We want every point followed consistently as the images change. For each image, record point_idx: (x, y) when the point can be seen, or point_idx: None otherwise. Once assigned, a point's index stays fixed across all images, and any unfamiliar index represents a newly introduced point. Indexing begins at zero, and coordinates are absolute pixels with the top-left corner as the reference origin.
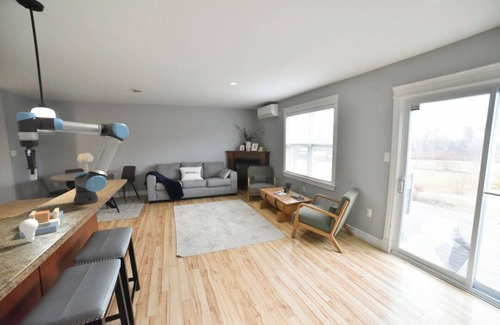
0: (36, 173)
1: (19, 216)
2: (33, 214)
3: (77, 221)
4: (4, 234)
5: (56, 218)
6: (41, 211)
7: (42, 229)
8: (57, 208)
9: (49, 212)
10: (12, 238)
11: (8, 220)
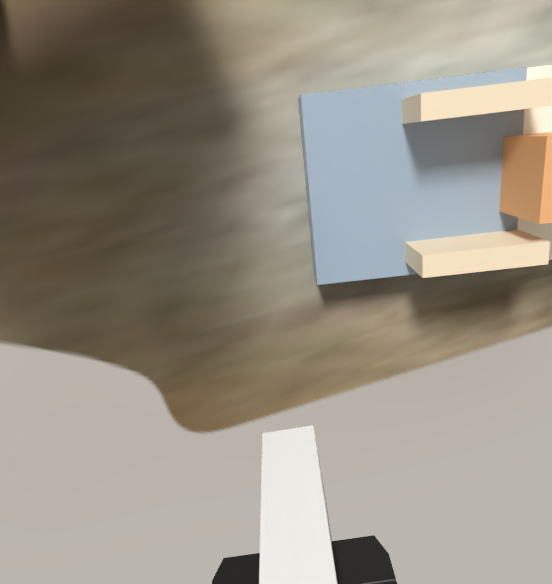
0: (278, 535)
1: (180, 380)
2: (523, 243)
3: None
4: (532, 332)
5: None
6: (549, 191)
7: None
8: (448, 97)
9: (541, 135)
10: None
11: (247, 407)
